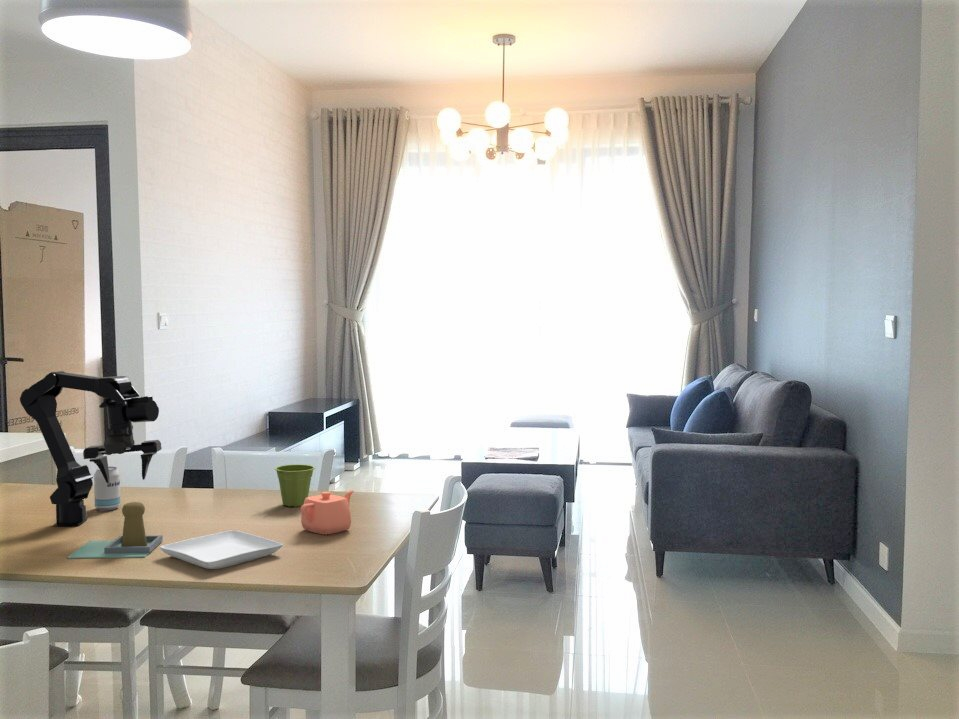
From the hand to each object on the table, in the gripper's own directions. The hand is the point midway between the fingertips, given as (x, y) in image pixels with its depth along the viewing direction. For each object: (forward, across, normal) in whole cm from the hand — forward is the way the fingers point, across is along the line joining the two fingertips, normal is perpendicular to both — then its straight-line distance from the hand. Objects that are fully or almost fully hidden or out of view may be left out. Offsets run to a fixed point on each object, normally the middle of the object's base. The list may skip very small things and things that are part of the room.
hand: (126, 481), depth 230 cm
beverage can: (+11, -13, +24) cm, 29 cm away
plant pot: (+16, +41, +24) cm, 50 cm away
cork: (+14, +6, -19) cm, 25 cm away
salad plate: (+17, +28, -29) cm, 44 cm away
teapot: (+18, +52, -7) cm, 56 cm away
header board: (+14, +2, -20) cm, 24 cm away
